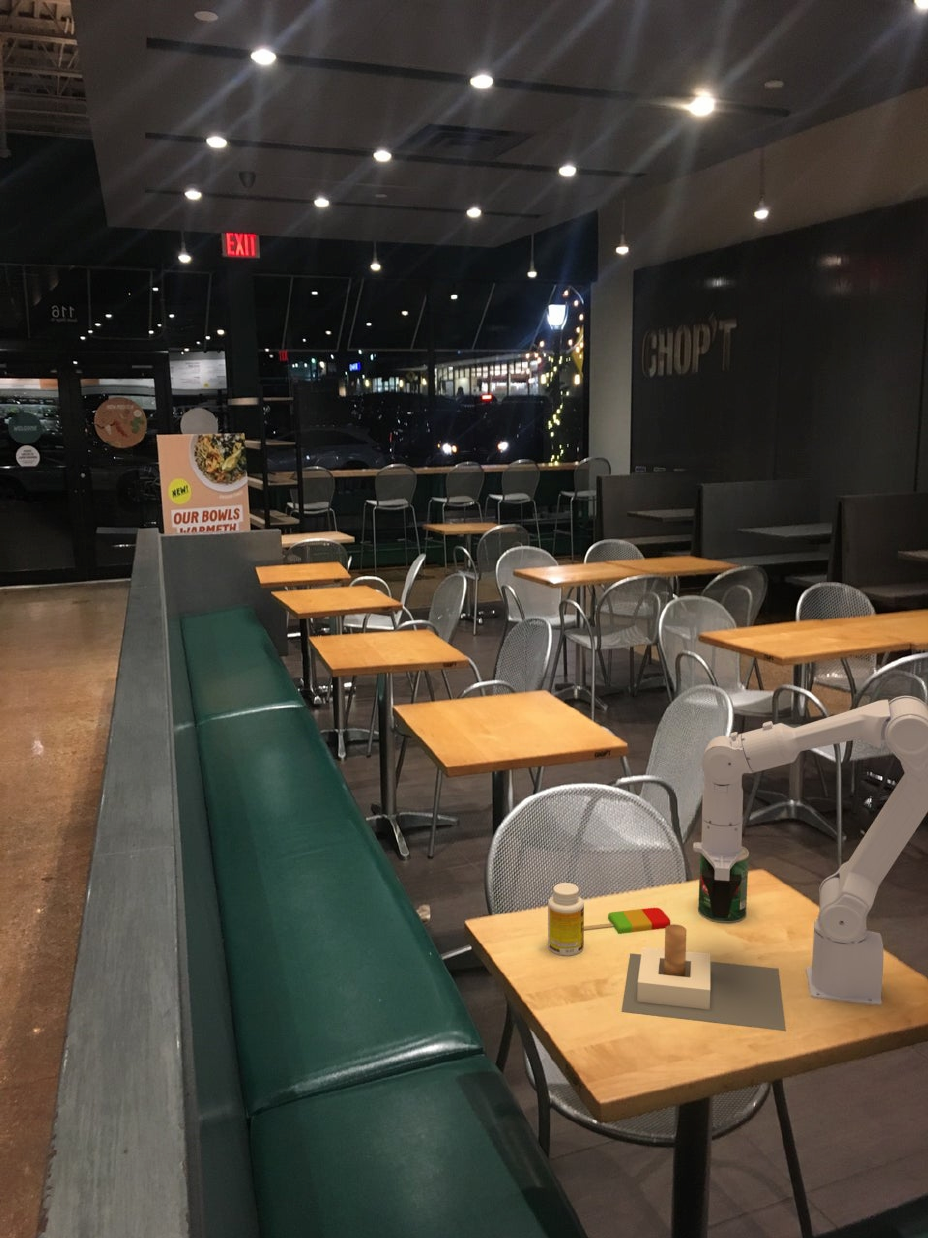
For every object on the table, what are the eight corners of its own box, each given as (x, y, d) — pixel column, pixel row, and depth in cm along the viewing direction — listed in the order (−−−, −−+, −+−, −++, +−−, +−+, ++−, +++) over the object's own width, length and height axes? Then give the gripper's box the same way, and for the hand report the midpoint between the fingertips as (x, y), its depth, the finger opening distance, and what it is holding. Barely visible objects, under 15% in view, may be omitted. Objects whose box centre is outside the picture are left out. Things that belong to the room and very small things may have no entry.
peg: (685, 982, 148) (686, 925, 147) (684, 993, 146) (686, 936, 144) (664, 979, 149) (665, 923, 147) (663, 990, 146) (664, 933, 144)
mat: (778, 970, 151) (778, 968, 151) (785, 1033, 136) (785, 1031, 136) (630, 955, 157) (630, 953, 157) (621, 1013, 141) (621, 1011, 141)
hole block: (709, 972, 151) (710, 953, 150) (709, 1009, 141) (710, 990, 141) (641, 965, 153) (642, 946, 153) (637, 1001, 144) (637, 982, 143)
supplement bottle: (587, 957, 156) (587, 895, 154) (551, 959, 156) (551, 897, 154) (580, 938, 162) (580, 879, 160) (545, 940, 161) (545, 881, 159)
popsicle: (672, 932, 164) (673, 921, 164) (584, 942, 162) (584, 932, 161) (660, 916, 170) (660, 905, 169) (574, 926, 167) (574, 915, 167)
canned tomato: (701, 923, 166) (703, 860, 164) (695, 900, 174) (696, 840, 172) (750, 924, 165) (752, 861, 163) (742, 902, 173) (744, 841, 171)
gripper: (694, 799, 156) (692, 881, 158) (693, 836, 142) (691, 925, 144) (741, 801, 154) (739, 884, 157) (745, 840, 140) (742, 930, 143)
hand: (719, 904), depth 150 cm, fingers open, 7 cm apart
